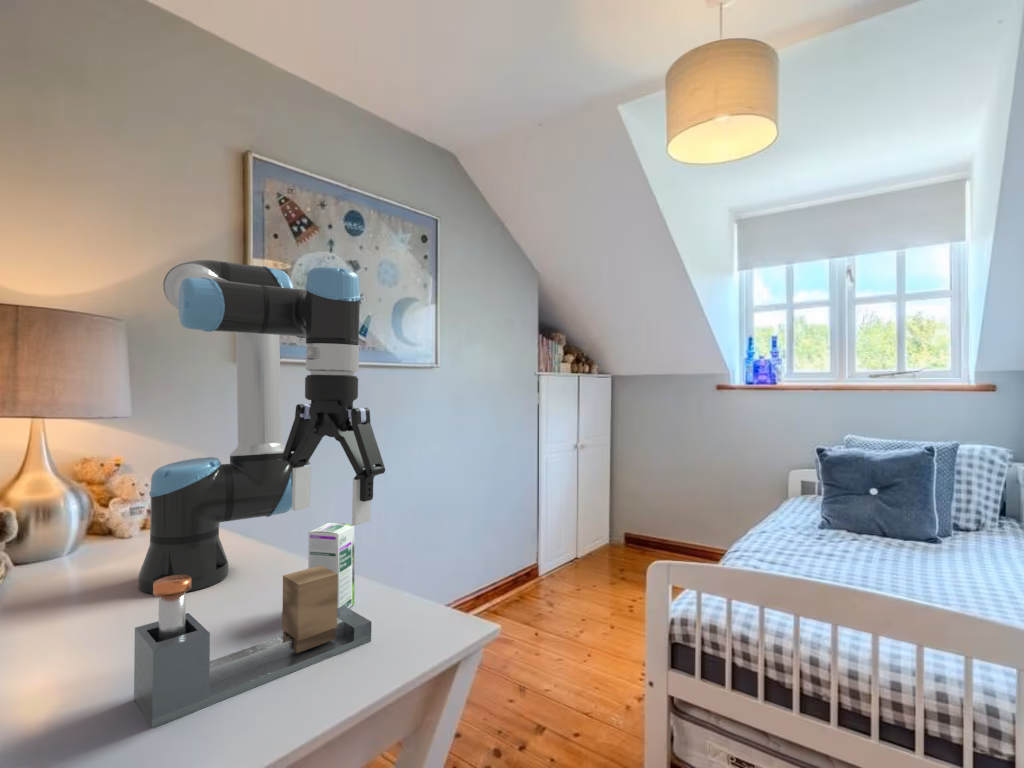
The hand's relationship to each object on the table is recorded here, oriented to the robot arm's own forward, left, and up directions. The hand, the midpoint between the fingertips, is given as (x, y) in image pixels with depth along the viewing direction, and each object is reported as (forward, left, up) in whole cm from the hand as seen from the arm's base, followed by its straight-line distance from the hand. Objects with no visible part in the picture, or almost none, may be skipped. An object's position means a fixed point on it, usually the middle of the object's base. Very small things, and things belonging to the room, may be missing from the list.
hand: (329, 515), depth 81 cm
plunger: (-1, -20, -15) cm, 25 cm away
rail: (-1, -9, -20) cm, 22 cm away
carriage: (-1, -2, -19) cm, 19 cm away
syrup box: (-12, +7, -20) cm, 24 cm away
